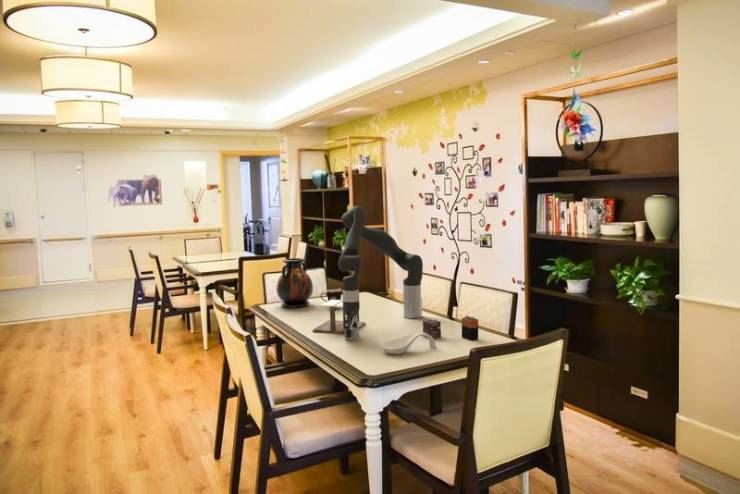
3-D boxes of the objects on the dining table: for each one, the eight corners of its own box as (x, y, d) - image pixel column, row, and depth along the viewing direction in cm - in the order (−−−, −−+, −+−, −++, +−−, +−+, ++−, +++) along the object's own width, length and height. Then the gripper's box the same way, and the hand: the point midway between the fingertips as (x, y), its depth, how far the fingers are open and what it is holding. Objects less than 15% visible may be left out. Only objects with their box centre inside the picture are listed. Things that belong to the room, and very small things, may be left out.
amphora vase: (294, 301, 340) (293, 256, 338) (321, 304, 328) (319, 258, 325) (269, 307, 323) (267, 260, 320) (296, 311, 310) (294, 262, 308)
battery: (471, 341, 240) (471, 318, 239) (461, 337, 246) (461, 315, 245) (478, 339, 242) (478, 317, 242) (468, 336, 248) (468, 314, 247)
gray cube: (359, 338, 249) (359, 327, 249) (355, 341, 244) (355, 330, 244) (348, 337, 251) (348, 326, 250) (345, 340, 246) (344, 329, 245)
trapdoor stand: (365, 324, 275) (364, 299, 274) (351, 334, 256) (351, 307, 255) (328, 322, 281) (327, 298, 280) (312, 332, 262) (311, 306, 261)
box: (429, 339, 244) (429, 323, 244) (422, 336, 250) (422, 320, 249) (441, 337, 247) (441, 321, 247) (433, 334, 253) (433, 319, 252)
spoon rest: (388, 358, 218) (388, 341, 217) (376, 351, 229) (376, 334, 228) (440, 350, 227) (440, 333, 226) (426, 344, 238) (426, 327, 237)
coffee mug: (344, 307, 319) (344, 290, 318) (336, 309, 312) (335, 292, 311) (328, 305, 326) (328, 288, 325) (320, 307, 318) (319, 290, 317)
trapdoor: (357, 302, 272) (357, 300, 272) (347, 308, 259) (347, 306, 259) (331, 301, 276) (330, 299, 276) (320, 307, 263) (320, 305, 263)
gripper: (353, 303, 238) (354, 339, 239) (364, 297, 251) (364, 331, 253) (337, 302, 240) (338, 338, 242) (348, 296, 254) (349, 330, 255)
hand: (351, 335), depth 247 cm, fingers open, 8 cm apart
